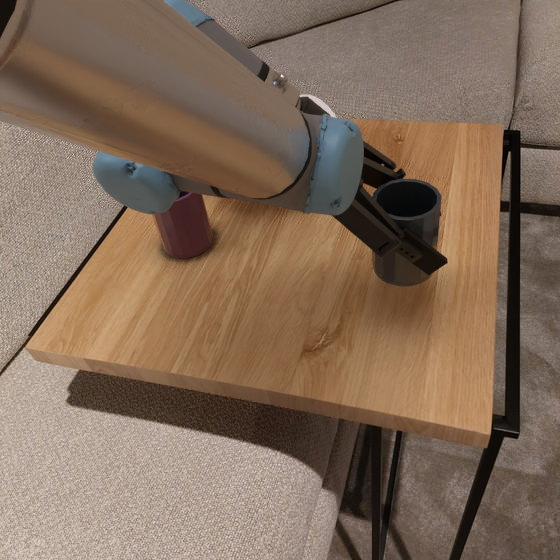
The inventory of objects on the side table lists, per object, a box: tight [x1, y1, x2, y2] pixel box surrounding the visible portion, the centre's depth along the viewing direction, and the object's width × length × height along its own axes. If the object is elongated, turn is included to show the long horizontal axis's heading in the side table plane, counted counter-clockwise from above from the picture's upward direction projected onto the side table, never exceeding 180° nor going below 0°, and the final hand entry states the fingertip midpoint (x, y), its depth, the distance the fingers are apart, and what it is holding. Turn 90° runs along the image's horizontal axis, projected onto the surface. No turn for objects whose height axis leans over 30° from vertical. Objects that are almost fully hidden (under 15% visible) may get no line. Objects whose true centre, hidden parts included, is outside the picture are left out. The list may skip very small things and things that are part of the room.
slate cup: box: [371, 178, 443, 288], centre depth 67 cm, size 7×7×10 cm
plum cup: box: [151, 191, 214, 260], centre depth 83 cm, size 7×7×10 cm
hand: (434, 242), depth 68 cm, fingers closed on slate cup, 7 cm apart
